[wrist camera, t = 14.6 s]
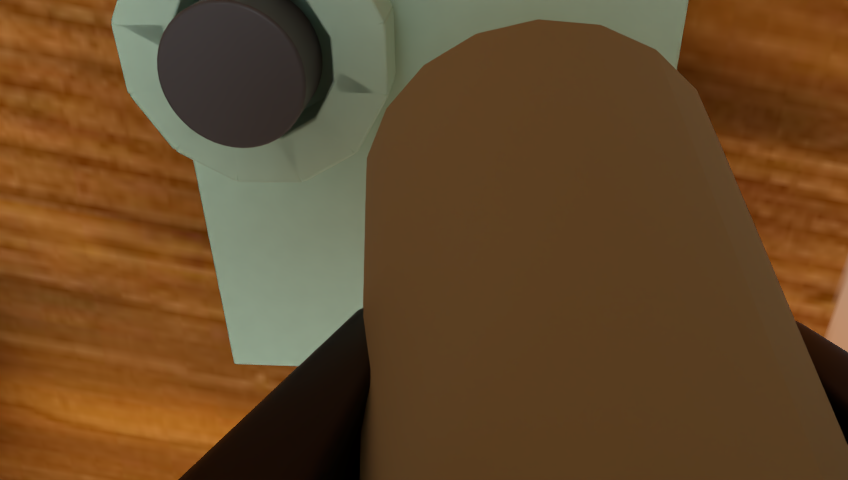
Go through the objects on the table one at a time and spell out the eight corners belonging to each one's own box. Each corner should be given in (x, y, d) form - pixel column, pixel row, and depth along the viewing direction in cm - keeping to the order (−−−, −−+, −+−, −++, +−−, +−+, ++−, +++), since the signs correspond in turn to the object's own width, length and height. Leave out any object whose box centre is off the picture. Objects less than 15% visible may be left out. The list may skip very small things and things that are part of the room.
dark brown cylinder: (316, -17, 14) (297, -1, 13) (329, 120, 16) (313, 150, 14) (175, -17, 14) (140, 0, 13) (201, 119, 16) (172, 148, 14)
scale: (689, -108, 15) (733, -99, 12) (616, 348, 22) (635, 417, 19) (146, -102, 16) (82, -91, 13) (233, 336, 22) (201, 400, 20)
